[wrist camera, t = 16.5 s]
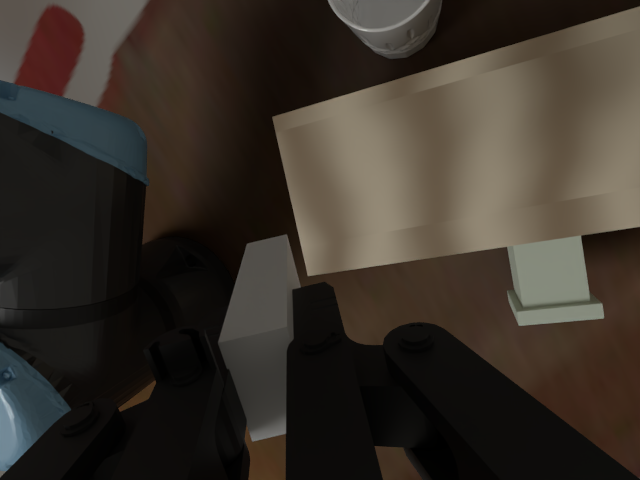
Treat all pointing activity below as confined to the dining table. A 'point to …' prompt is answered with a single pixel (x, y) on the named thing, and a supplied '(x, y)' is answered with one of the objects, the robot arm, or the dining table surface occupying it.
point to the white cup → (390, 23)
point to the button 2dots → (551, 283)
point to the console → (472, 152)
